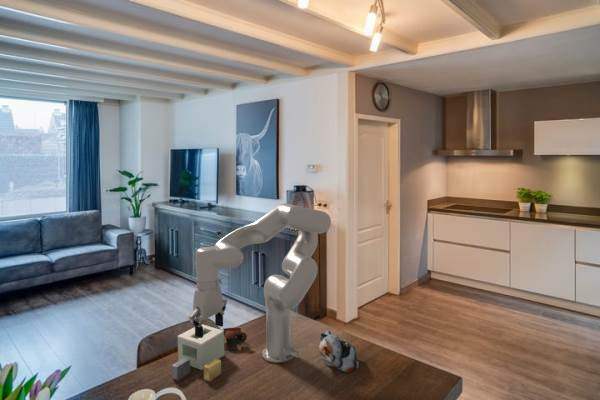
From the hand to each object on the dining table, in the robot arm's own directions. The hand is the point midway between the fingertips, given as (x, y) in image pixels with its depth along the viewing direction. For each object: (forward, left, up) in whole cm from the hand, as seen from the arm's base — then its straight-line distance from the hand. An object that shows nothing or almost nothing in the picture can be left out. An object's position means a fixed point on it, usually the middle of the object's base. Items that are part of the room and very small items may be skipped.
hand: (209, 331), depth 133 cm
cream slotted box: (+11, -7, -17) cm, 21 cm away
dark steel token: (+9, +5, -17) cm, 20 cm away
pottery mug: (+7, -22, -17) cm, 28 cm away
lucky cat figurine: (-36, -29, -17) cm, 49 cm away
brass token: (-1, 0, -17) cm, 17 cm away
